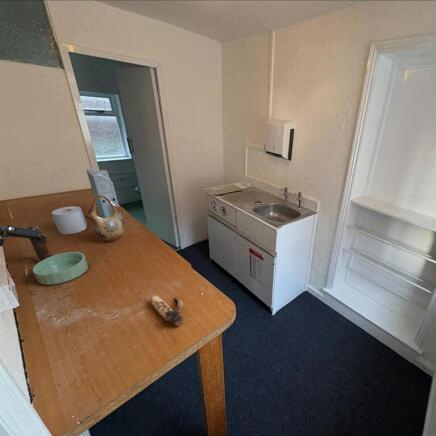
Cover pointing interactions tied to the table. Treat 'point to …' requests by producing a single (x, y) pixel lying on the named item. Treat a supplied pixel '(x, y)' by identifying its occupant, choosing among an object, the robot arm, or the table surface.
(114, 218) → the ceramic vessel
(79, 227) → the toilet paper roll
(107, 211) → the device
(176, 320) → the bone fish hook
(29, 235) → the robot arm
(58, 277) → the bowl
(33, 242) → the pestle
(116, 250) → the table surface
